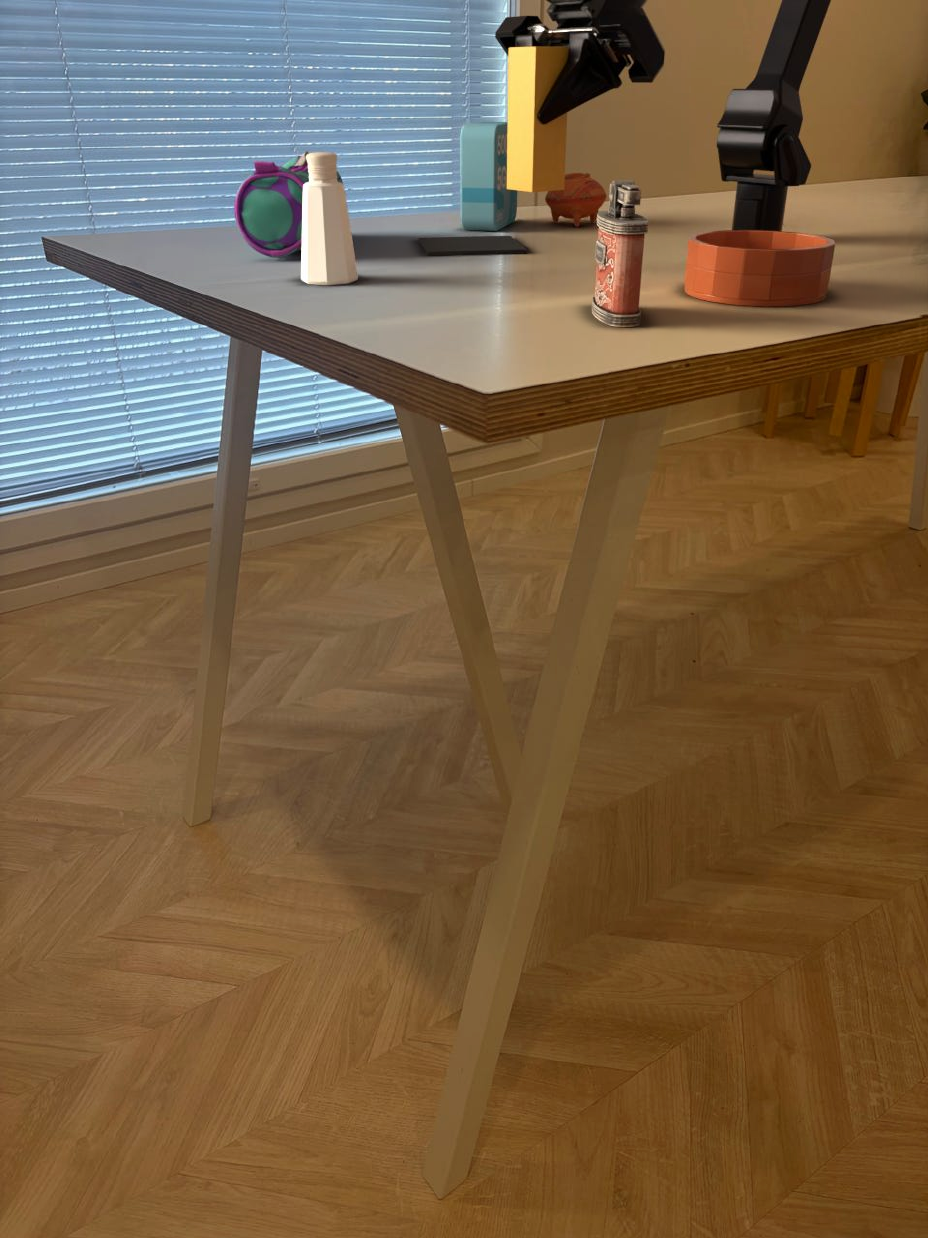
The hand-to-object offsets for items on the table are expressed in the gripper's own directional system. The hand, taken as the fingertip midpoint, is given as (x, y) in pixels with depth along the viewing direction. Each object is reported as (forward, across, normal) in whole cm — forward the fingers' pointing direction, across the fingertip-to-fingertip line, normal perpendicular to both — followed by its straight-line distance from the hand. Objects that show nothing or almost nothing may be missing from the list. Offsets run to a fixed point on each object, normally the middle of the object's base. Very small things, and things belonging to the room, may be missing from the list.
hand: (525, 119), depth 93 cm
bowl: (+3, +22, +16) cm, 27 cm away
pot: (-10, -24, +29) cm, 39 cm away
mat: (+6, -16, +13) cm, 21 cm away
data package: (-3, -29, +22) cm, 37 cm away
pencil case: (+17, -28, +2) cm, 33 cm away
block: (+3, 0, +5) cm, 6 cm away
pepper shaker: (+22, -7, -3) cm, 24 cm away
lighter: (+15, +21, +4) cm, 26 cm away
